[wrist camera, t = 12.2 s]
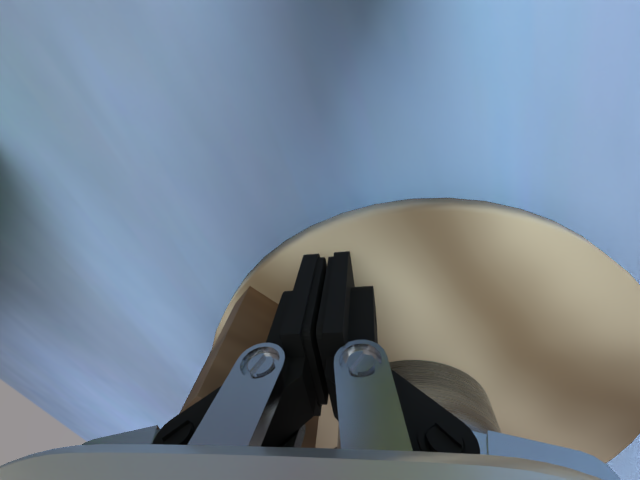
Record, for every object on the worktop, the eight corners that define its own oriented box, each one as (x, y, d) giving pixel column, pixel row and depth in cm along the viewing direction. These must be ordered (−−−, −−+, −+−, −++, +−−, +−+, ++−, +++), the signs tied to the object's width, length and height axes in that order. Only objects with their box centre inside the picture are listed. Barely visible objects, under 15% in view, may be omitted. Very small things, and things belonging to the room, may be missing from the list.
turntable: (409, 74, 10) (463, 93, 5) (745, 382, 15) (968, 571, 9) (158, 384, 19) (79, 513, 14) (415, 520, 24) (431, 658, 18)
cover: (406, 334, 14) (426, 447, 10) (523, 409, 15) (581, 535, 11) (311, 412, 17) (297, 522, 13) (416, 468, 18) (431, 583, 14)
